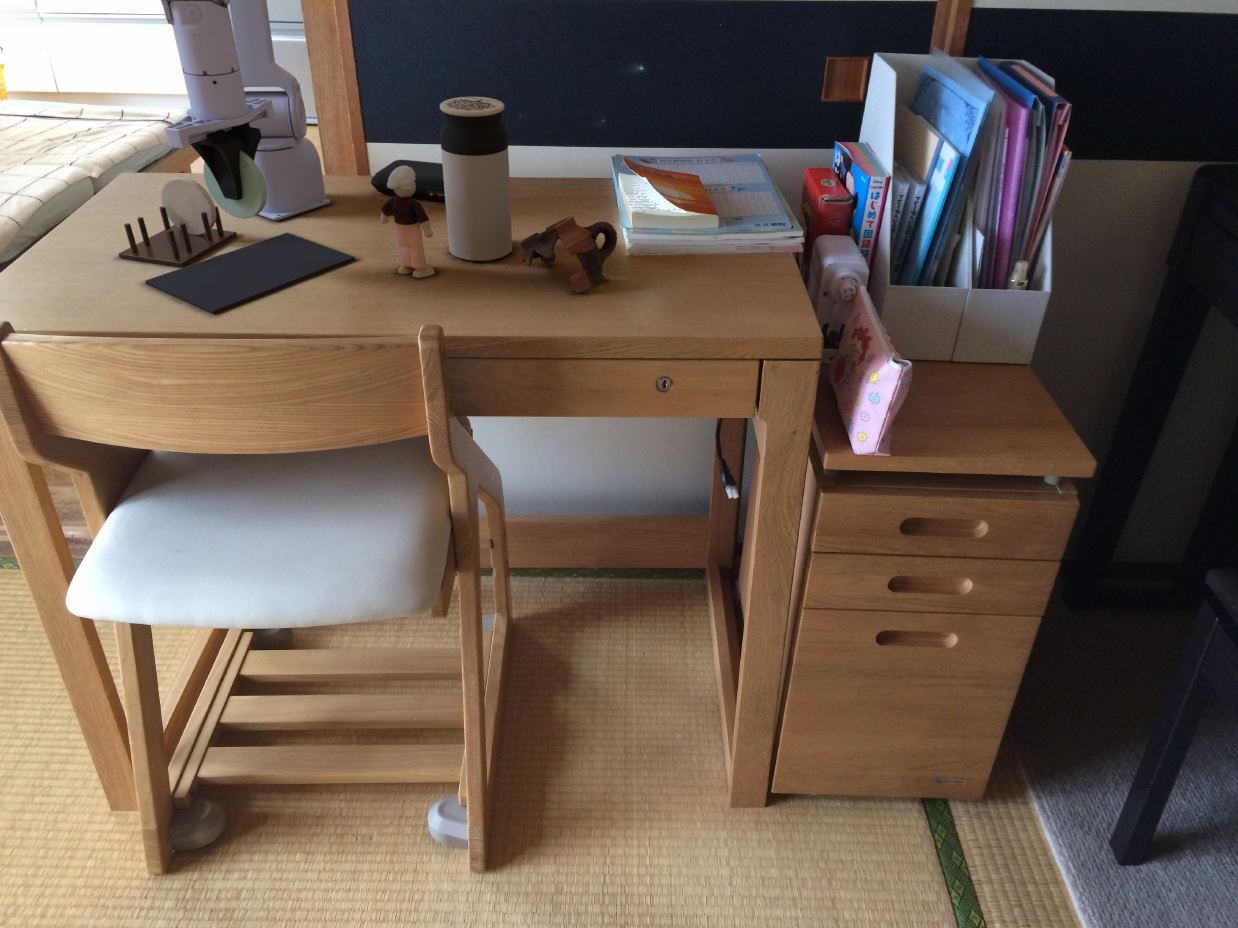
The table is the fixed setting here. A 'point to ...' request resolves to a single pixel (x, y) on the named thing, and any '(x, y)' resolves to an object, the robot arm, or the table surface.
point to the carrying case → (426, 178)
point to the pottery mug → (573, 248)
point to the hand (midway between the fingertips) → (238, 196)
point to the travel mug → (476, 178)
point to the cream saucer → (188, 204)
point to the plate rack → (175, 242)
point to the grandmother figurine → (408, 222)
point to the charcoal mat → (249, 272)
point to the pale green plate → (251, 188)
